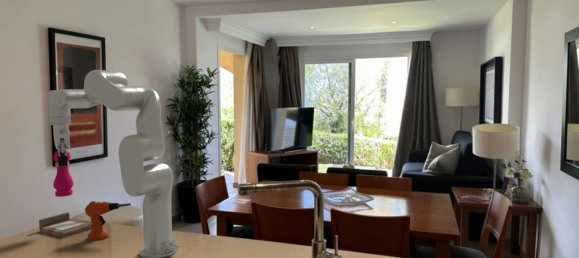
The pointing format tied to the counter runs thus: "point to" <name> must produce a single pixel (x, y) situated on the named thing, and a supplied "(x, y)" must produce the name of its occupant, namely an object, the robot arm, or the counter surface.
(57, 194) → the pepper mill
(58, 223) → the brown picture frame
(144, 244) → the robot arm
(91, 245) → the counter surface
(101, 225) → the toy drill
